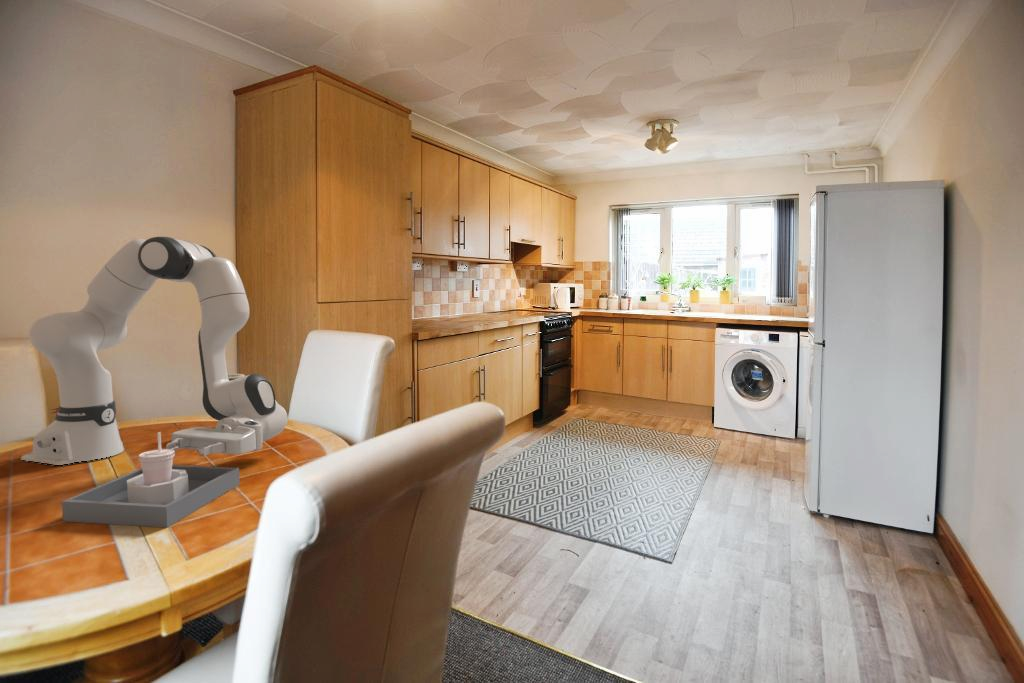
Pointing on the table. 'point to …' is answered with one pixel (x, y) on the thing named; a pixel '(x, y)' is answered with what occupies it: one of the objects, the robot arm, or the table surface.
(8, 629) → the table surface
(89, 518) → the tray
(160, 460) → the smoothie
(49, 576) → the table surface
